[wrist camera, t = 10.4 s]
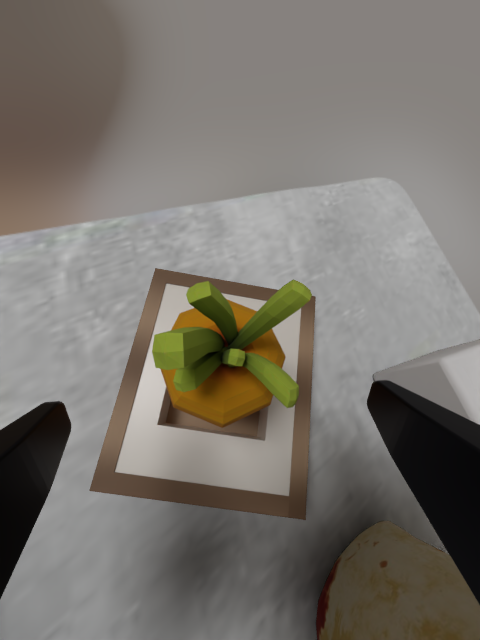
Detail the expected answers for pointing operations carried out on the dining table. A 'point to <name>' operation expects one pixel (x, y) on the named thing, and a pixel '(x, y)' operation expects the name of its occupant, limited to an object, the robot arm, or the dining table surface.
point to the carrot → (227, 355)
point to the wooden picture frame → (205, 444)
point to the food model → (395, 592)
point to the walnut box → (194, 492)
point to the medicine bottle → (443, 378)
